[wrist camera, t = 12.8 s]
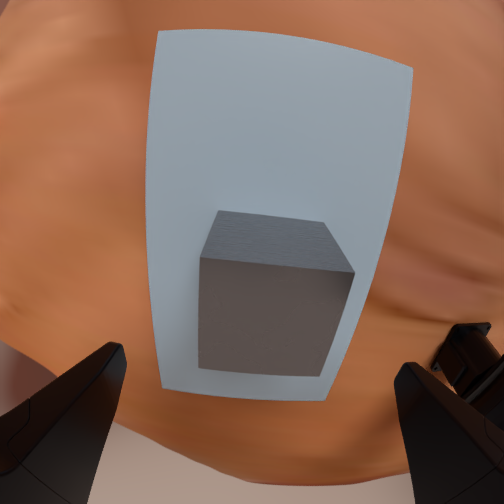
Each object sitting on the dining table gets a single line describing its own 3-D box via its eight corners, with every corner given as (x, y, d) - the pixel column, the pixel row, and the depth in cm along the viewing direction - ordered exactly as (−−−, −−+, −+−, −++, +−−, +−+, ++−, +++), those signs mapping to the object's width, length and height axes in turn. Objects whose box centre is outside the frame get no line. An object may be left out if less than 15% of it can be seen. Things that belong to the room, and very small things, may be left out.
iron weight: (323, 222, 14) (355, 272, 9) (304, 308, 16) (319, 376, 11) (218, 210, 14) (199, 256, 9) (212, 300, 16) (198, 368, 11)
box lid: (405, 69, 11) (413, 68, 10) (323, 392, 20) (324, 400, 19) (163, 35, 11) (158, 31, 10) (164, 380, 20) (162, 388, 19)
